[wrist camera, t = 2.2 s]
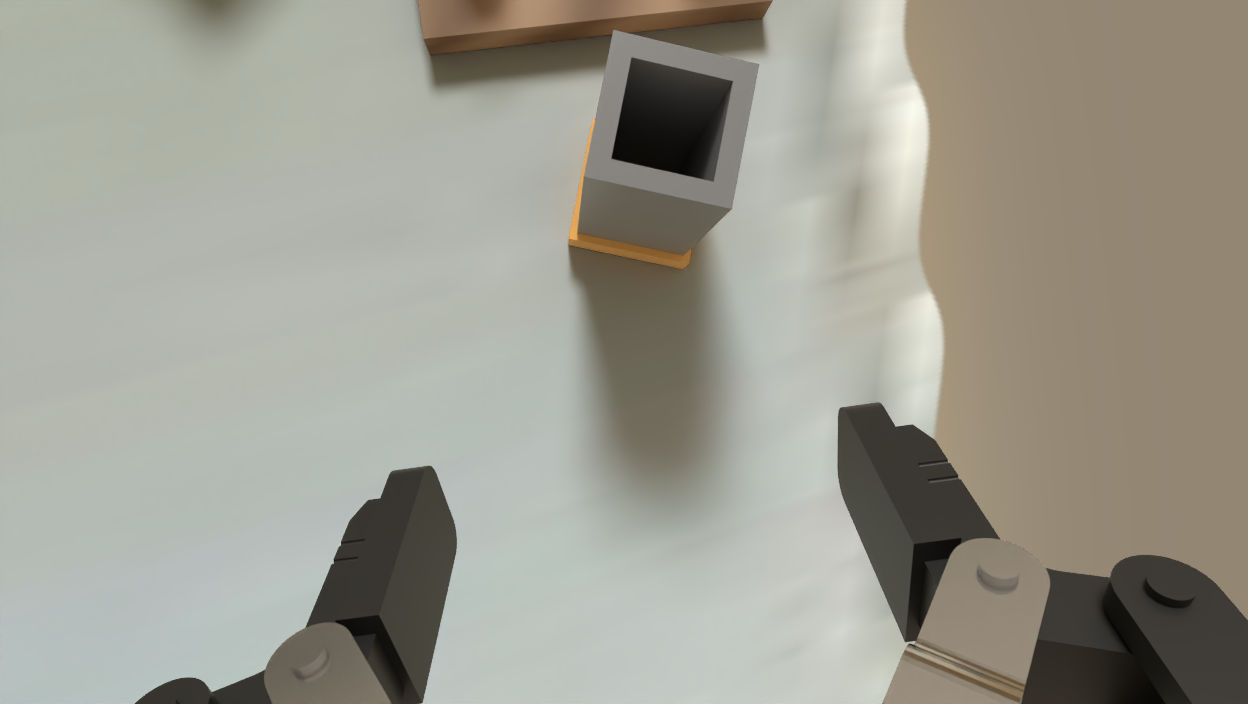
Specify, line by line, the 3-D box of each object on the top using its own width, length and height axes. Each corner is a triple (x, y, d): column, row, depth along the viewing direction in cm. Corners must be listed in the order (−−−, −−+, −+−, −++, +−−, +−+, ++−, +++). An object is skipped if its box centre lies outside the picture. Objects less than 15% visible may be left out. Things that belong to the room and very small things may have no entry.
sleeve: (683, 269, 32) (739, 220, 22) (568, 245, 31) (571, 184, 21) (704, 156, 32) (770, 57, 22) (591, 130, 32) (605, 17, 22)
